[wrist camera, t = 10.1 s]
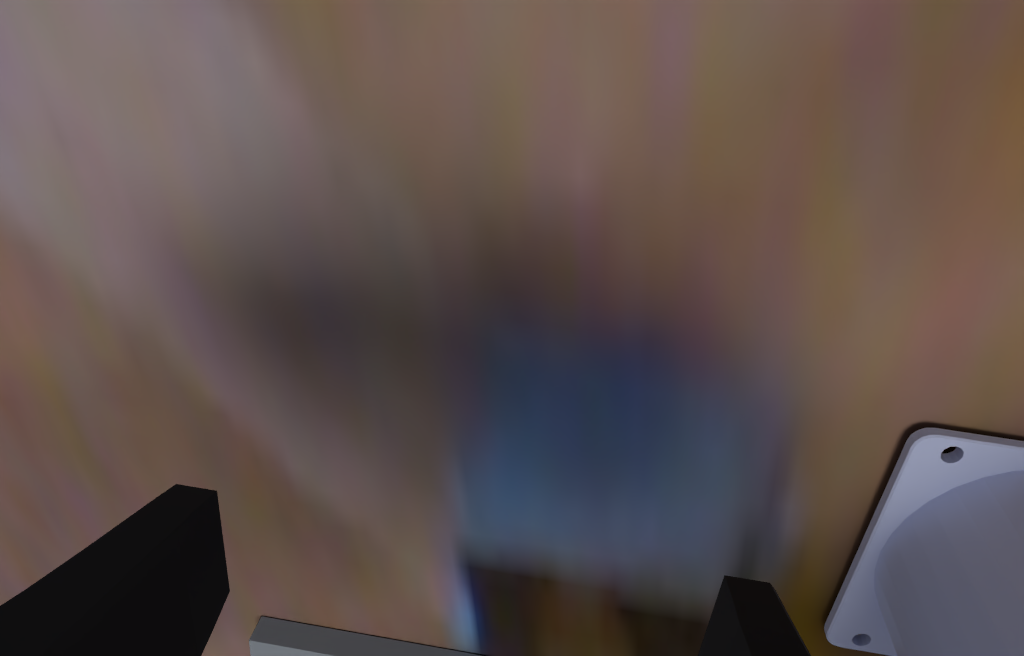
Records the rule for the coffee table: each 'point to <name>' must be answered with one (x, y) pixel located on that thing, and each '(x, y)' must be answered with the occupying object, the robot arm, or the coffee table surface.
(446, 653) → the display stand
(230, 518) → the coffee table surface
